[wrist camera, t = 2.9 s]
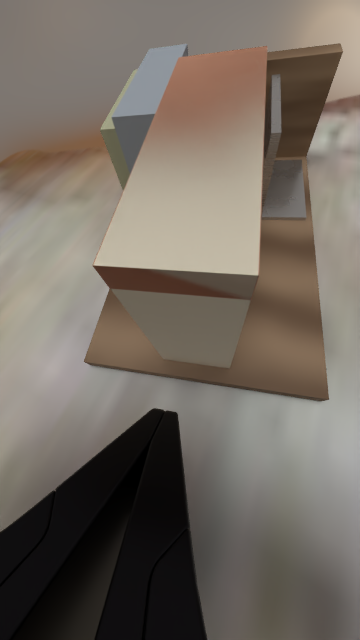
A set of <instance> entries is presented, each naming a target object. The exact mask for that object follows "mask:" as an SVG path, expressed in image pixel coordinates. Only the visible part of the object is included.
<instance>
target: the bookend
mask: <svg viewBox="0 0 360 640" xmlns="http://www.w3.org/2000/svg"><path fill="white" fill-rule="evenodd" d="M280 136H281V87H280V74H275V75H272V77H271V83H270V89H269V95H268V101H267V107H266V113H265V124H264V152H263V181H262V209H261V220H306V206H305V193H304V181H303V168H302V160H275V158H276V153H277V149H278V145H279V141H280Z"/></svg>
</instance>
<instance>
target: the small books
mask: <svg viewBox="0 0 360 640" xmlns="http://www.w3.org/2000/svg"><path fill="white" fill-rule="evenodd" d="M187 48H188V47H187V44H182V45H175V46H168V47H161V48H153V49H149V51H148V53H147V55H146V56H145V58H144V60H143V62H142V63H141V65H140V67H139V69H137V70H134V71H133V73H132V75H131V77H130V78H129V80H128V82H127V83H126V85H125V87H124V89H123V90H122V93H121V94H120V96H119V97H118V99H117V101H116V103H115V105H114V106H113V108H112V110H111V111H110V113H109V115H108V117H107V118H106V120H105V122H104V123H103V125H102V127H101V129H100V131H101V134H102V136H103V139H104V141H105V144H106V147H107V150H108V152H109V155H110V157H111V160H112V163H113V165H114V168H115V171H116V173H117V176H118V178H119V181H120V184H121V186H122V189H123V190H124V188H125V186H126V183H127V181H128V178H129V176H130V174H131V171H132V169H133V166H134V164H135V161H136V159H137V157H138V154H139V152H140V149H141V147H142V145H143V142H144V140H145V137H146V135H147V133H148V130H149V128H150V125H151V123H152V120H153V118H154V116H155V113H156V111H157V108H158V106H159V104H160V101H161V99H162V96H163V94H164V92H165V89H166V87H167V84H168V82H169V79H170V77H171V75H172V72H173V70H174V67H175V65H176V63H177V60H178V58H179V57H185V56H188V49H187Z"/></svg>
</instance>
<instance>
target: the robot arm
mask: <svg viewBox="0 0 360 640" xmlns="http://www.w3.org/2000/svg"><path fill="white" fill-rule="evenodd" d="M0 640H207V635H206V630H205V624H204V619H203V613H202V608H201V602H200V597H199V591H198V586H197V578H196V571H195V564H194V556H193V548H192V539H191V531H190V522H189V513H188V504H187V495H186V485H185V476H184V467H183V458H182V449H181V440H180V430H179V421H178V414H177V412H172V411H164V410H161V409H156V408H154V409H152V410H150V411H149V412H148V413H147V414H146V415H144V416H143V417H142V418H141V419H139V420H138V421H137V422H136V423H135V424H133V425H132V426H131V427H130V428H129V429H127V430H126V431H125V432H124V433H122V434H121V435H120V436H119V437H118V438H116V439H115V440H114V441H113V442H112V443H110V444H109V445H108V446H107V447H105V448H104V449H103V450H102V451H101V452H99V453H98V454H97V455H96V456H95V457H93V458H92V459H91V460H90V461H89V462H87V463H86V464H85V465H84V466H82V467H81V468H80V469H79V470H78V471H76V472H75V473H74V474H73V475H72V476H70V477H69V478H68V479H67V480H65V481H64V482H63V483H62V484H61V485H59V486H58V487H57V488H56V491H52V492H51V493H49V494H48V495H47V496H46V497H45V498H43V499H42V500H41V501H40V502H39V503H37V504H36V505H35V506H34V507H32V508H31V509H30V510H28V511H27V512H26V513H25V514H23V515H22V516H21V517H20V518H18V519H17V520H16V521H15V522H13V523H12V524H11V525H9V526H8V527H7V528H5V529H4V530H3V531H1V532H0Z"/></svg>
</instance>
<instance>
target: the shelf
mask: <svg viewBox="0 0 360 640" xmlns="http://www.w3.org/2000/svg"><path fill="white" fill-rule="evenodd" d="M342 53H343V51H342V47H341V44H333V45H323V46H315V47H307V48H299V49H291V50H283V51H275V52H267V68H266V96H265V113H266V107H267V101H268V95H269V89H270V83H271V77H272V75H275V74H280V87H281V136H280V141H279V145H278V149H277V153H276V158H275V160H302V168H303V181H304V193H305V206H306V220H261V237H260V265H259V277H258V281H257V284H256V287H255V290H254V293H253V297H252V300H251V301H250V304H249V307H248V311H247V314H246V317H245V320H244V324H243V327H242V330H241V333H240V337H239V340H238V343H237V346H236V350H235V353H234V356H233V359H232V363H231V366H230V368H223V367H216V366H209V365H201V364H194V363H187V362H180V361H173V360H166V359H163V358H162V357H161V355H160V354H159V353H158V351H157V350H156V349H155V347H154V346H153V345H152V343H151V342H150V341H149V339H148V338H147V337H146V335H145V334H144V333H143V331H142V330H141V329H140V327H139V326H138V325H137V323H136V322H135V321H134V319H133V318H132V317H131V315H130V314H129V313H128V311H127V310H126V309H125V307H124V306H123V305H122V303H121V302H120V301H119V299H118V298H117V297H116V295H115V294H114V293H113V291H112V290H111V289H109V292H108V295H107V298H106V301H105V303H104V306H103V309H102V312H101V315H100V317H99V320H98V323H97V326H96V329H95V331H94V334H93V337H92V340H91V343H90V345H89V348H88V351H87V354H86V357H85V359H84V362H85V363H87V364H90V365H94V366H100V367H106V368H113V369H119V370H126V371H132V372H138V373H145V374H151V375H157V376H164V377H170V378H176V379H183V380H189V381H196V382H202V383H208V384H215V385H221V386H227V387H234V388H240V389H247V390H253V391H259V392H266V393H272V394H278V395H285V396H291V397H298V398H304V399H310V400H317V401H325V400H329V395H328V385H327V374H326V363H325V353H324V342H323V331H322V320H321V310H320V299H319V288H318V278H317V267H316V256H315V245H314V235H313V224H312V213H311V203H310V192H309V181H308V171H307V160H306V156H307V153H308V150H309V147H310V144H311V141H312V138H313V136H314V133H315V130H316V127H317V124H318V121H319V118H320V116H321V113H322V110H323V107H324V104H325V101H326V98H327V96H328V93H329V90H330V87H331V84H332V81H333V78H334V75H335V73H336V70H337V67H338V64H339V61H340V58H341V55H342Z"/></svg>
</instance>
